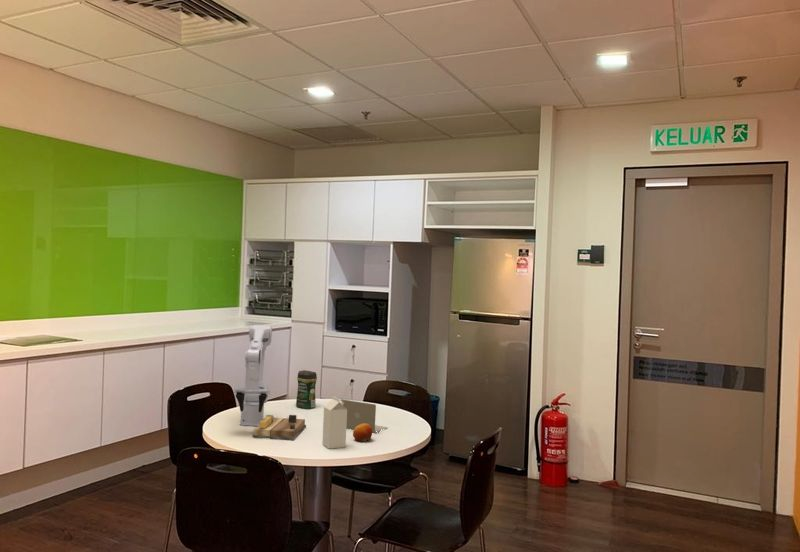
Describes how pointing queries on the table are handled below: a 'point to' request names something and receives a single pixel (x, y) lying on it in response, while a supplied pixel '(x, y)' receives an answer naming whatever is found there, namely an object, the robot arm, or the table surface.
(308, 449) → the table surface
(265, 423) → the bar
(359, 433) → the fruit
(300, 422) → the wooden board with knob
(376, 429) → the laptop
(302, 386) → the coffee jar
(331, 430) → the milk carton
